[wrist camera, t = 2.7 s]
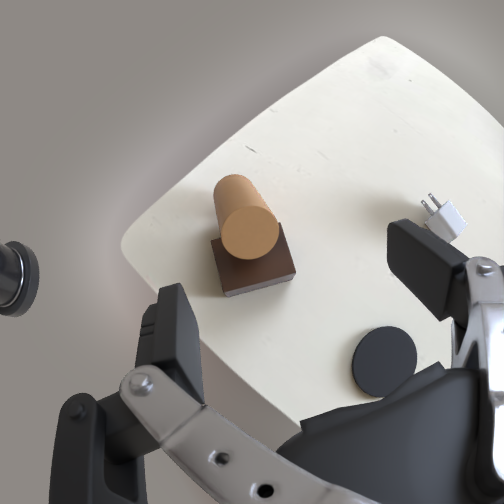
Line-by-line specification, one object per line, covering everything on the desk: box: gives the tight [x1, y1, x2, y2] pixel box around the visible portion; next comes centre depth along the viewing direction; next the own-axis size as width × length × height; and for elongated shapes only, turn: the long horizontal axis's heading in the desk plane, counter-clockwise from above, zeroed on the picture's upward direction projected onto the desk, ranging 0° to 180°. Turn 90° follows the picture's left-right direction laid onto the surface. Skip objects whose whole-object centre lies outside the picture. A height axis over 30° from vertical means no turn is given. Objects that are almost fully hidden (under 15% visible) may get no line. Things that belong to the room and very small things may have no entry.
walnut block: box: [211, 222, 296, 297], centre depth 34 cm, size 6×8×4 cm
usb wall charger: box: [421, 193, 467, 243], centre depth 35 cm, size 4×7×4 cm, turn 36°
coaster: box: [352, 326, 417, 397], centre depth 32 cm, size 9×9×1 cm
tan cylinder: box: [213, 174, 279, 259], centre depth 32 cm, size 12×5×12 cm, turn 15°
